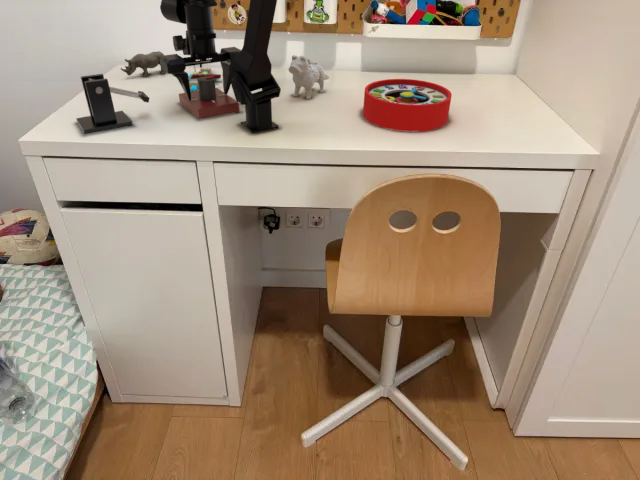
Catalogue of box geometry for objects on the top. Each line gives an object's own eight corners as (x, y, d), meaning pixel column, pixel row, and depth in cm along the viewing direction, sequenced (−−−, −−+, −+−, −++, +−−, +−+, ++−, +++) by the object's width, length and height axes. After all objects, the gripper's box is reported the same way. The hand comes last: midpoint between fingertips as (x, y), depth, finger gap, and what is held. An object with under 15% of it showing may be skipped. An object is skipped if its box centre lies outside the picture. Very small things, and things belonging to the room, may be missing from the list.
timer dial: (203, 101, 115) (200, 80, 112) (196, 96, 118) (194, 76, 115) (219, 98, 117) (217, 78, 114) (212, 94, 120) (210, 74, 117)
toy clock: (349, 95, 110) (385, 74, 125) (348, 120, 114) (383, 97, 128) (434, 111, 102) (463, 87, 116) (430, 138, 105) (458, 111, 120)
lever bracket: (123, 115, 114) (113, 70, 108) (133, 126, 108) (123, 79, 102) (77, 123, 109) (64, 76, 103) (85, 135, 103) (72, 86, 98)
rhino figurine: (119, 77, 138) (115, 55, 135) (165, 69, 146) (162, 48, 142) (125, 81, 136) (120, 58, 132) (171, 72, 143) (168, 51, 140)
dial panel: (239, 112, 116) (238, 101, 115) (199, 120, 112) (197, 108, 110) (217, 97, 125) (216, 86, 124) (180, 103, 121) (178, 93, 119)
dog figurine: (284, 100, 125) (282, 56, 119) (309, 87, 134) (309, 46, 128) (301, 103, 123) (301, 59, 117) (326, 90, 132) (327, 48, 126)
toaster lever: (141, 99, 113) (143, 89, 112) (148, 105, 109) (150, 95, 108) (85, 87, 105) (87, 76, 104) (90, 93, 102) (92, 82, 101)
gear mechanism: (227, 72, 145) (195, 71, 145) (225, 53, 142) (193, 52, 142) (213, 93, 128) (177, 92, 128) (211, 72, 125) (174, 71, 125)
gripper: (224, 17, 118) (230, 82, 127) (147, 24, 110) (158, 93, 119) (244, 25, 111) (249, 94, 119) (163, 34, 102) (174, 107, 111)
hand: (208, 96), depth 117 cm, fingers open, 9 cm apart
